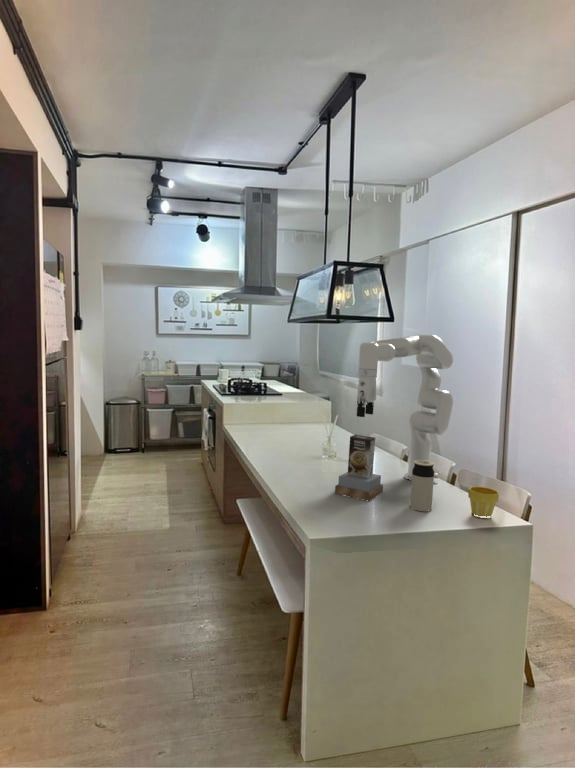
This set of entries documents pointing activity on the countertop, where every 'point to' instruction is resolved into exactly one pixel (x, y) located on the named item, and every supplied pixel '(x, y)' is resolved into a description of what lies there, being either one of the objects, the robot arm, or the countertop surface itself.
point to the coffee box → (361, 456)
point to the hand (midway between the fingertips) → (364, 415)
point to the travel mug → (422, 485)
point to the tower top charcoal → (359, 482)
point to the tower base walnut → (359, 492)
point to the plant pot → (482, 500)
